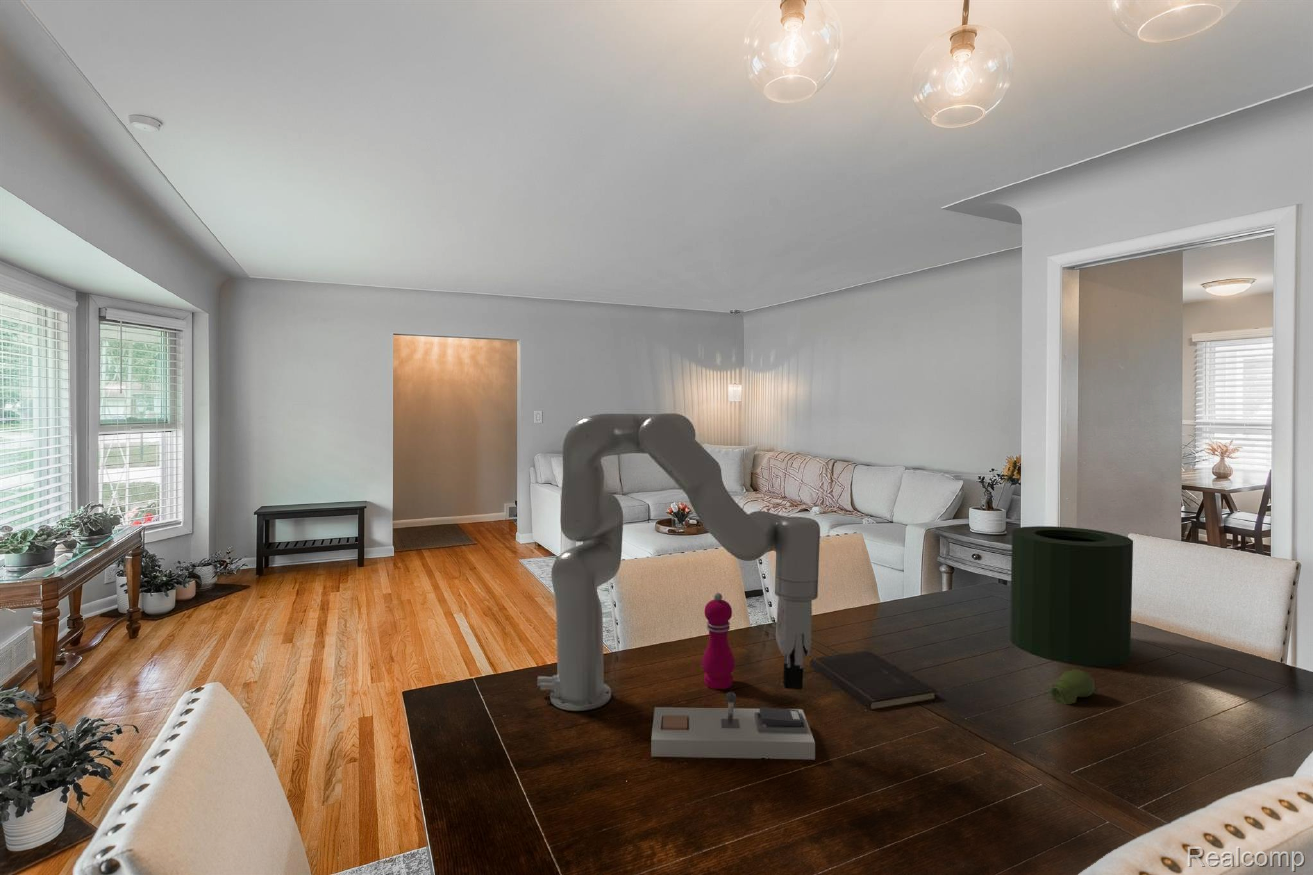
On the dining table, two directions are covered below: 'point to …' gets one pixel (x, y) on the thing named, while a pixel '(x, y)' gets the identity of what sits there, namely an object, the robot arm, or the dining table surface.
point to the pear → (1072, 686)
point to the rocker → (780, 717)
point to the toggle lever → (730, 705)
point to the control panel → (729, 735)
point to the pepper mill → (718, 645)
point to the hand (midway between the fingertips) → (792, 686)
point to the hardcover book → (872, 679)
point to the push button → (674, 722)
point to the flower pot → (1072, 595)
